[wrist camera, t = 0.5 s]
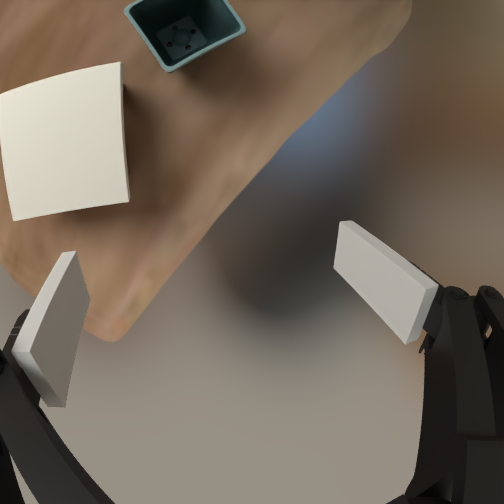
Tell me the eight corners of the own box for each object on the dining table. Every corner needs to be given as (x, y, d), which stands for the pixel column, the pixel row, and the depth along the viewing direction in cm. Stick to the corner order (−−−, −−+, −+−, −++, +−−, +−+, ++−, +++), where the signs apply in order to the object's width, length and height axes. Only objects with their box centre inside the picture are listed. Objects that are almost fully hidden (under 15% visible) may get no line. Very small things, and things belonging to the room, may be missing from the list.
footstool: (28, 96, 25) (-2, 94, 18) (130, 73, 28) (120, 61, 21) (39, 200, 31) (13, 221, 24) (136, 184, 34) (128, 201, 27)
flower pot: (167, 85, 30) (166, 74, 22) (131, 32, 26) (121, 8, 18) (230, 49, 30) (249, 30, 22) (195, -2, 26) (203, -33, 18)
